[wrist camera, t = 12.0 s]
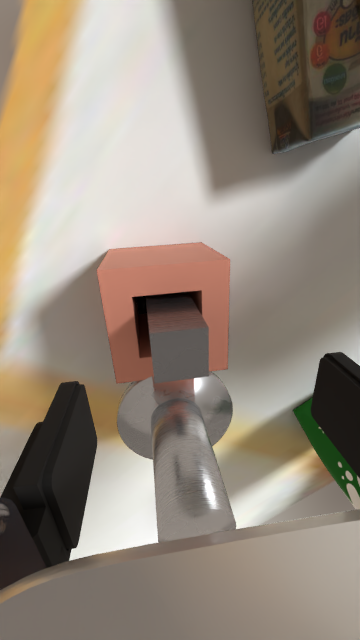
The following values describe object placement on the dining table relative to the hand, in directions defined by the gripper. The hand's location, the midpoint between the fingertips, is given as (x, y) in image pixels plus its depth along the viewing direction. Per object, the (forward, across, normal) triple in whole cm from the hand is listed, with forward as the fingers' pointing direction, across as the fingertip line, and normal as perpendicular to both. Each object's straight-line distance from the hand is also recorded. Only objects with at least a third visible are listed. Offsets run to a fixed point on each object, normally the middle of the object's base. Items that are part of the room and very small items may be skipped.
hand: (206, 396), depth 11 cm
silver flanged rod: (+16, +1, +8) cm, 18 cm away
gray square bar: (+16, +1, 0) cm, 16 cm away
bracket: (+16, +1, +2) cm, 16 cm away
